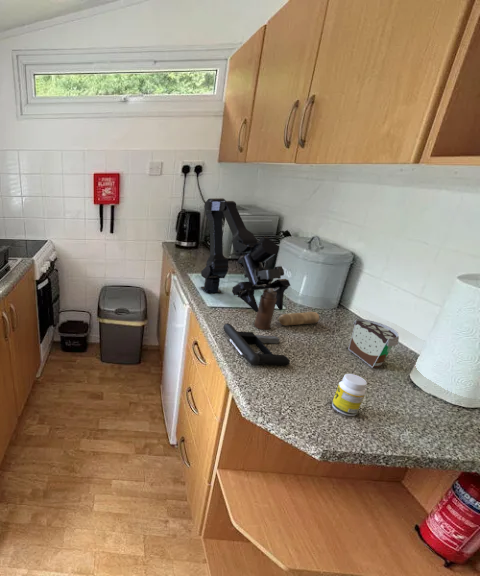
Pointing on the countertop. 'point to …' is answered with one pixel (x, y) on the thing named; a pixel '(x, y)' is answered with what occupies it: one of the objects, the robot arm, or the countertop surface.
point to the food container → (372, 341)
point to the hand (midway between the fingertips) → (269, 310)
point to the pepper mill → (266, 309)
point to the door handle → (245, 338)
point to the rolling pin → (299, 318)
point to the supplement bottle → (349, 394)
